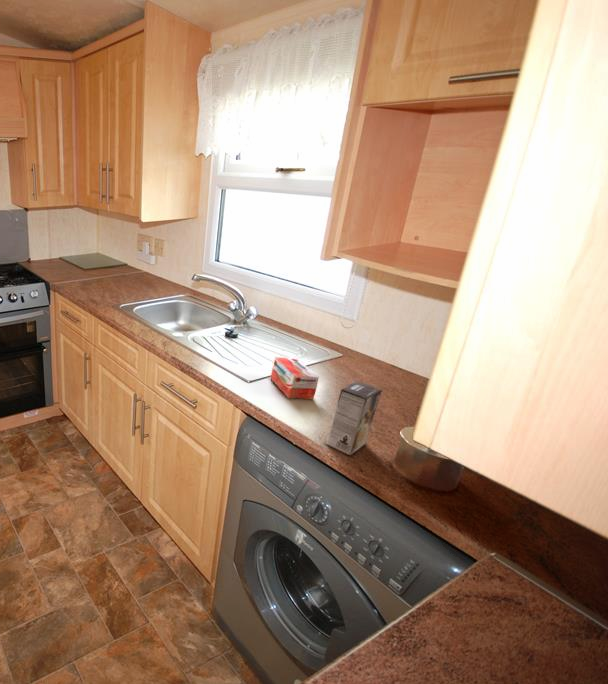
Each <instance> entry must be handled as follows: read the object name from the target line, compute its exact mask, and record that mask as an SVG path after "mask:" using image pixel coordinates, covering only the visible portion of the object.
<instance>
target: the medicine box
mask: <svg viewBox="0 0 608 684" xmlns="http://www.w3.org/2000/svg"><path fill="white" fill-rule="evenodd" d="M270 373H271V374H270V380H271V381H272V382H273V383H274V384H275V385H276V386H277V387H278V388H279V390H280V391H281V392H282V393H283V394H284V395H285V396H286V398H288V399H295V400H296V399H297V400H298V399H303V400H314V398H315V395H316V392H317V387H318V383H319V378H320V376H318V374H316V373H315V372H314V371H313V370H312V369H310V368H309V367H308V366H307V365H306V364H304V363H303V362H302V361H301V360H299V359H298V358H296V357H295V358H294V357H279V356H278V357H276V356H275V357H274V359H273V364H272V368H271V372H270Z"/></svg>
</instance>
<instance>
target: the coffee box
mask: <svg viewBox="0 0 608 684" xmlns="http://www.w3.org/2000/svg"><path fill="white" fill-rule="evenodd" d="M382 392H383V389H381V388H378V387H375V386H373V385H370V384H367V383H363V382H361V381H358V380H355V381H354V382H352V383H349V384H348V385H347V386H345V387H343V388H341V390H340V393H339V395H338V396H339V397H338V400H337V403H336V406H335V411H334V414H333V417H332V421H331V425H330V429H329V432H328V436H327V439H326V445H328V446H330V447H332V448H333V449H336V450H338V451H340V452H342V453H344V454H346V455H349V456H351V455H353V454H354V453H355V452H356V451H358V450H359V449H361V448H362V447H363V446H365V445H366V442H367V439H368V436H369V433H370V430H371V426H372V423H373V420H374V416H375V414H376V411H377V408H378V405H379V401H380V398H381V395H382Z"/></svg>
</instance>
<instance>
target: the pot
mask: <svg viewBox="0 0 608 684" xmlns="http://www.w3.org/2000/svg"><path fill="white" fill-rule="evenodd" d="M392 466H393V468H394V469H395V470H396V472H397V473H398V474H399V475H401V476H402V477H403V478H404V479H407V480H408V481H411V482H412V483H414V484H416V485H417V486H421V487H424V488H427V489H430V490H436V491H440V492H447V491H448V492H449V491H453V490H454V489H456V488H457V487H458V485H459V483H460V481H461V478H462V476H463V473H464V471H465V468H466V467H465V468H464V467H462V466H460V465H459V464H457V463H455V462H452V461H446V460H442V459H438V458H434V457H432V456H429V455H426V454H424V453H422V452H420V451H418V450H416V449H414V448H412V447H411V446H409V445H408V444H407V443H405V442H404V441H403V439H402V438H401V437H400V439H399V443H398V445H397V448H396V452H395V454H394V457H393V460H392Z"/></svg>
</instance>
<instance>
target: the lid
mask: <svg viewBox="0 0 608 684" xmlns="http://www.w3.org/2000/svg"><path fill="white" fill-rule="evenodd" d="M414 427H415V426H406V427H404V428H402V429H401V430H400V433H399V436H400V439H401V438H402V439H403V441H404V442H405V443H407V444H408V445H409V446H411V447H412V448H414V449H416V450H418V451H420V452H422V453H424V454H426V455H429V456H432V457H434V458H438V459H442V460H446V461H451V460H449V459H448V458H446V457H444V456H442V455H440V454H438V453H435V452H433V451H432V450H430V449H428V448H426V447H424V446H422V445H420V444H417V443H415V442H414V441H413V439H412V434H413V429H414ZM452 462H453V461H452Z"/></svg>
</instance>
